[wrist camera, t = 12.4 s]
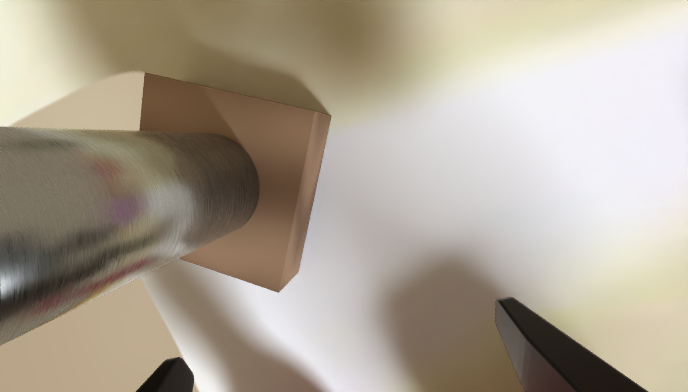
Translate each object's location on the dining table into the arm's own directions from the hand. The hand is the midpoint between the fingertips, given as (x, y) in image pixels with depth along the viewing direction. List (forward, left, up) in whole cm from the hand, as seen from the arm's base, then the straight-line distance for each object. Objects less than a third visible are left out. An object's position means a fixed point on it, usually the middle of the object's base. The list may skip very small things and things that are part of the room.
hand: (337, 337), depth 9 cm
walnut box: (+1, +10, -11) cm, 14 cm away
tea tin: (+1, +10, -8) cm, 12 cm away
